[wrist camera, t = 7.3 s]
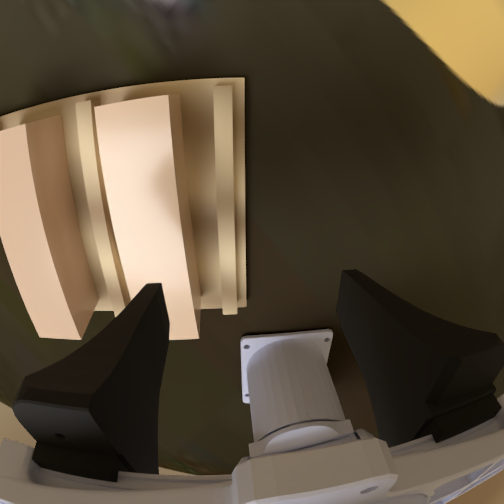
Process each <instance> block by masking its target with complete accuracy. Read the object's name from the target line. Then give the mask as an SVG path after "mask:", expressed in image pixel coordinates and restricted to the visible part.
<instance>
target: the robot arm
mask: <svg viewBox="0 0 504 504" xmlns="http://www.w3.org/2000/svg"><path fill="white" fill-rule="evenodd" d="M336 311H337V315H338V318H339V322H340V325H341V328H342V331H343V333H344V335H345V337H346V340H347V342H348V344H349V346H350V348H351V350H352V352H353V355H354V357H355V359H356V361H357V363H358V365H359V367H360V370H361V372H362V374H363V377H364V380H365V383H366V386H367V389H368V392H369V396H370V399H371V403H372V407H373V411H374V414H375V419H376V423H377V428H378V432H379V437H380V439H377V438H374V436H373V435H372V434H371V433H369V432H367V431H365V430H364V429H362V428H360V429H358V430H355V431H354V430H353V427H352V424H351V421H350V420H349V419H348V420H345V417H344V414H343V411H342V408H341V405H340V402H339V399H338V396H337V393H336V390H335V387H334V384H333V381H332V379H331V376H330V373H329V370H328V367H327V360H328V356H329V351H330V347H331V342H332V338H333V332H332V330H330V329H323V330H313V331H303V332H292V333H279V334H266V335H251V336H244V337H242V338H241V340H240V342H241V371H242V397H243V402H244V403H250V409H251V418H252V427H253V435H254V443H251V444H249V452H250V456H249V457H243V458H242V459H241V460H240V462H239V464H238V465H237V466H236V467H235V469H234V471H233V472H232V475H207V476H184V475H183V476H182V475H159V469H158V406H159V394H160V387H161V381H162V376H163V371H164V366H165V361H166V355H167V350H168V345H169V331H170V321H169V316H168V312H167V307H166V302H165V297H164V293H163V288H162V283H147V284H146V285H145V286H144V287H143V288H142V289H141V290H140V291H139V292H138V294H137V295H136V296H135V297H134V298H133V299H132V300H131V302H130V303H129V304H128V305H127V306H126V307H125V308H124V309H123V310H122V311H121V312H120V313H119V314H118V315H117V316H116V317H115V318H114V319H113V320H112V321H111V322H110V323H109V324H108V325H107V326H106V327H105V328H104V329H103V330H102V331H101V332H100V333H98V334H97V335H96V336H95V337H94V338H92V339H91V340H90V341H89V342H87V343H86V344H84V345H83V346H81V347H80V348H79V349H77V350H76V351H74V352H73V353H71V354H70V355H68V356H66V357H65V358H63V359H61V360H60V361H58V362H56V363H54V364H52V365H50V366H48V367H46V368H44V369H42V370H40V371H37V372H35V373H33V374H30V375H28V376H25V378H24V380H23V382H22V384H21V386H20V389H19V391H18V393H17V395H16V398H15V400H14V402H13V407H12V409H13V412H14V414H15V416H16V418H17V419H18V421H19V422H20V423H21V424H22V425H23V427H24V428H25V429H26V430H27V431H28V432H29V433H30V434H31V436H32V437H33V438H34V439H35V440H36V441H37V443H36V446H35V449H34V448H33V447H31V446H29V445H27V444H24V443H20V442H17V441H13V440H10V439H6V438H4V439H3V441H2V444H1V446H0V504H445V503H447V502H449V501H451V500H452V499H454V498H456V497H458V496H460V495H461V494H463V493H465V492H467V491H469V490H470V489H472V488H474V487H475V486H477V485H479V484H480V483H482V482H484V481H485V480H487V479H488V478H490V477H492V476H493V475H495V474H497V473H498V472H500V471H501V470H503V469H504V394H502V395H501V396H500V397H498V398H497V399H496V397H495V396H494V394H493V393H495V391H496V388H495V386H494V385H493V381H494V380H495V378H496V377H497V375H498V373H499V372H500V370H501V369H502V367H503V365H504V343H503V342H502V340H501V339H500V338H499V337H498V335H497V334H495V333H490V332H485V331H480V330H475V329H471V328H467V327H464V326H460V325H457V324H454V323H451V322H448V321H446V320H443V319H441V318H438V317H436V316H433V315H431V314H429V313H427V312H425V311H423V310H421V309H419V308H417V307H415V306H413V305H411V304H410V303H408V302H406V301H404V300H403V299H401V298H399V297H398V296H396V295H395V294H393V293H392V292H390V291H388V290H387V289H385V288H384V287H382V286H381V285H379V284H378V283H377V282H375V281H374V280H372V279H371V278H369V277H368V276H366V275H365V274H363V273H361V272H360V271H358V270H356V269H354V270H343V271H342V276H341V283H340V289H339V296H338V302H337V309H336ZM326 338H327V339H326ZM245 345H248V346H245Z"/></svg>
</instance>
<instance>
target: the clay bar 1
mask: <svg viewBox="0 0 504 504" xmlns="http://www.w3.org/2000/svg"><path fill="white" fill-rule="evenodd" d="M0 236H1V239H2V243H3V246H4V249H5V252H6V255H7V258H8V261H9V264H10V267H11V270H12V273H13V275H14V278H15V281H16V283H17V286H18V289H19V291H20V294H21V296H22V299H23V301H24V303H25V306H26V308H27V310H28V313H29V315H30V317H31V320H32V322H33V324H34V326H35V328H36V330H37V333H38V335H39V337H43V338H58V339H75V340H81V339H82V337H83V334H84V332H85V330H86V327H87V325H88V323H89V321H90V318H91V316H92V314H93V312H94V309H95V307H96V305H97V303H98V301H99V300H98V297H97V293H96V290H95V287H94V283H93V280H92V276H91V273H90V269H89V265H88V261H87V258H86V254H85V250H84V246H83V241H82V237H81V233H80V228H79V224H78V219H77V214H76V209H75V204H74V199H73V193H72V188H71V182H70V175H69V169H68V162H67V155H66V147H65V139H64V129H63V118H62V114H61V115H56V116H52V117H48V118H44V119H40V120H36V121H32V122H28V123H25V124H21V125H18V126H14V127H11V128H8V129H4V130H1V131H0Z"/></svg>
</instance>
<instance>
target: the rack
mask: <svg viewBox="0 0 504 504" xmlns="http://www.w3.org/2000/svg"><path fill="white" fill-rule="evenodd" d="M172 94H180V96H181V111H182V125H183V138H184V150H185V162H186V173H187V183H188V193H189V202H190V211H191V220H192V229H193V237H194V245H195V253H196V261H197V268H198V276H199V283H200V290H201V309H213V308H223V315H227V314H237V307H246V233H245V92H244V78H211V79H193V80H180V81H168V82H159V83H150V84H142V85H134V86H127V87H121V88H115V89H109V90H103V91H97V92H92V93H87V94H82V95H78V96H73V97H69V98H64V99H60V100H56V101H52V102H48V103H44V104H40V105H37V106H33V107H30V108H26V109H23V110H20V111H16V112H13V113H10V114H7V115H4V116H1V117H0V131H1V130H4V129H8V128H11V127H14V126H18V125H21V124H25V123H28V122H32V121H36V120H40V119H44V118H48V117H52V116H56V115H61V114H62V118H63V129H64V139H65V147H66V155H67V162H68V169H69V175H70V182H71V188H72V193H73V199H74V204H75V209H76V214H77V219H78V224H79V228H80V233H81V237H82V241H83V246H84V250H85V254H86V258H87V261H88V265H89V269H90V273H91V276H92V280H93V283H94V287H95V290H96V293H97V297H98V300H99V301H98V303H97V305H96V307H95V309H94V311H114V314H115V317H116V316H117V315H118V314H119V313H120V312H121V311H122V310H123V309H124V308H125V307H126V306H127V305H128V304H129V303H130V302H131V298H130V294H129V290H128V287H127V283H126V279H125V276H124V272H123V268H122V264H121V260H120V256H119V252H118V247H117V243H116V239H115V234H114V230H113V225H112V220H111V215H110V210H109V205H108V200H107V195H106V189H105V184H104V178H103V171H102V165H101V159H100V152H99V144H98V137H97V128H96V119H95V110H94V107H97V106H102V105H107V104H112V103H117V102H123V101H128V100H134V99H141V98H147V97H154V96H162V95H172Z"/></svg>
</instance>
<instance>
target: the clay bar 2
mask: <svg viewBox="0 0 504 504" xmlns="http://www.w3.org/2000/svg"><path fill="white" fill-rule="evenodd" d="M94 110H95V119H96V128H97V137H98V144H99V152H100V159H101V165H102V171H103V178H104V184H105V189H106V195H107V200H108V205H109V210H110V215H111V220H112V225H113V230H114V234H115V239H116V243H117V247H118V252H119V256H120V260H121V264H122V268H123V272H124V276H125V279H126V283H127V287H128V290H129V294H130V298H131V300H132V299H133V298H134V297H135V296H136V295H137V294H138V292H139V291H140V290H141V289H142V288H143V287H144V286H145V285H146V284H147V283H162V288H163V293H164V297H165V302H166V307H167V312H168V316H169V321H170V331H169V340H180V339H199V330H200V311H201V290H200V283H199V276H198V268H197V261H196V253H195V245H194V237H193V229H192V220H191V211H190V202H189V193H188V183H187V173H186V162H185V150H184V138H183V125H182V111H181V96H180V94H172V95H162V96H154V97H147V98H141V99H134V100H128V101H123V102H117V103H112V104H107V105H102V106H97V107H94Z"/></svg>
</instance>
